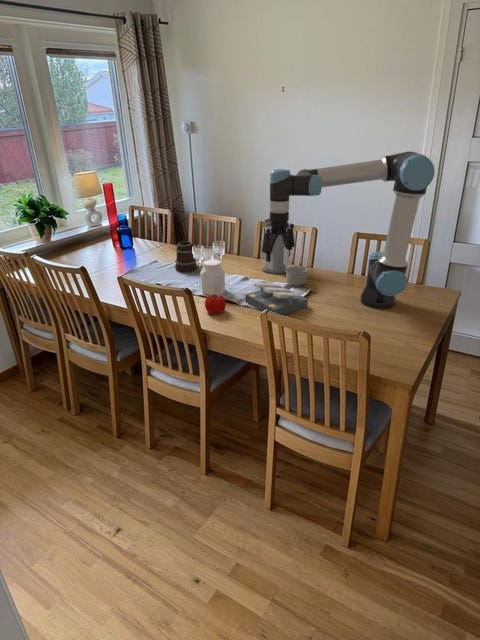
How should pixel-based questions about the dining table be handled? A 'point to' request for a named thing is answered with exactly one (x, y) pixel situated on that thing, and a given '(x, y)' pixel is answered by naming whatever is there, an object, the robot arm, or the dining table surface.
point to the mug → (185, 257)
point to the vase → (276, 255)
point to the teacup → (296, 275)
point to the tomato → (215, 304)
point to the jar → (212, 278)
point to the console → (275, 302)
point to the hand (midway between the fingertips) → (278, 266)
